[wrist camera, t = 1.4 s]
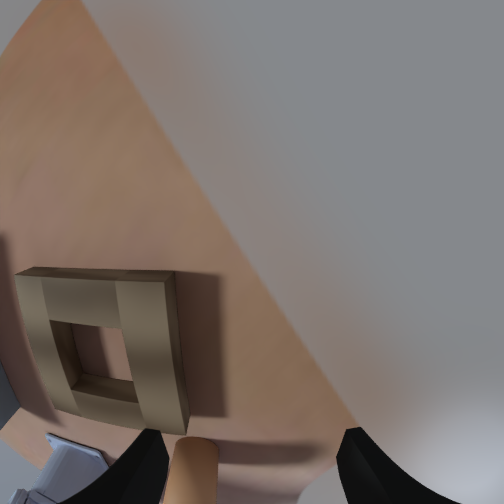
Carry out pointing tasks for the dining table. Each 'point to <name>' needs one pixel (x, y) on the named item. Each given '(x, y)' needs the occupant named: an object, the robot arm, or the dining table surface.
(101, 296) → the socket block
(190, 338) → the dining table surface
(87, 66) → the dining table surface
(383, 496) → the robot arm
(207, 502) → the dowel
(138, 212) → the dining table surface
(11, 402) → the wall
